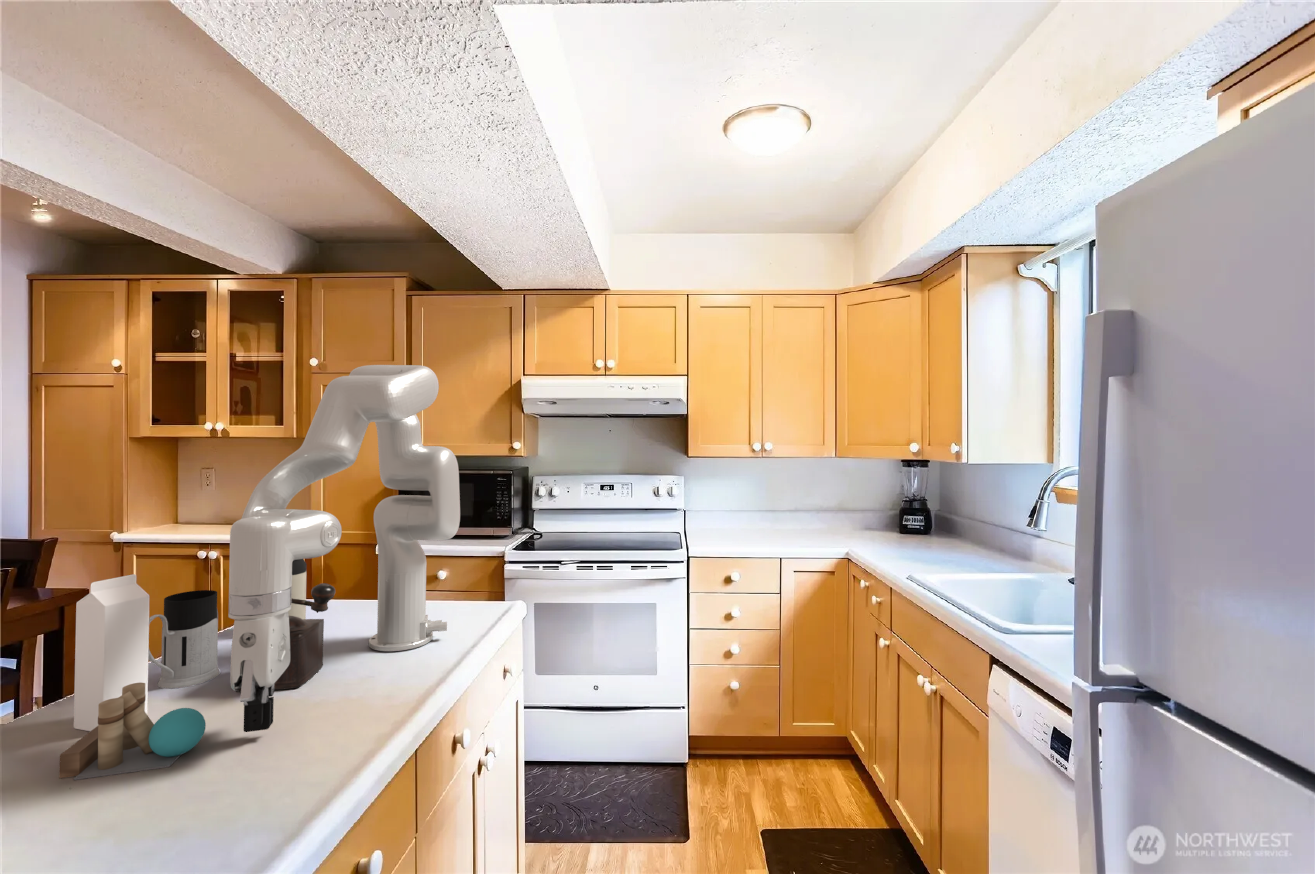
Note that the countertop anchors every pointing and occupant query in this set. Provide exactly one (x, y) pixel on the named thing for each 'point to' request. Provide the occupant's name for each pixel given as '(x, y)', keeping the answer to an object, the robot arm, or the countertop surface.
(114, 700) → the rear pin
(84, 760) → the back wall
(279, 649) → the robot arm
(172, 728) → the ball
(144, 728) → the front pin
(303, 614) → the travel mug
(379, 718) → the countertop surface
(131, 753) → the pin deck mark
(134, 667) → the milk
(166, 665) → the glass holder
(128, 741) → the rear pin
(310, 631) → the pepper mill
